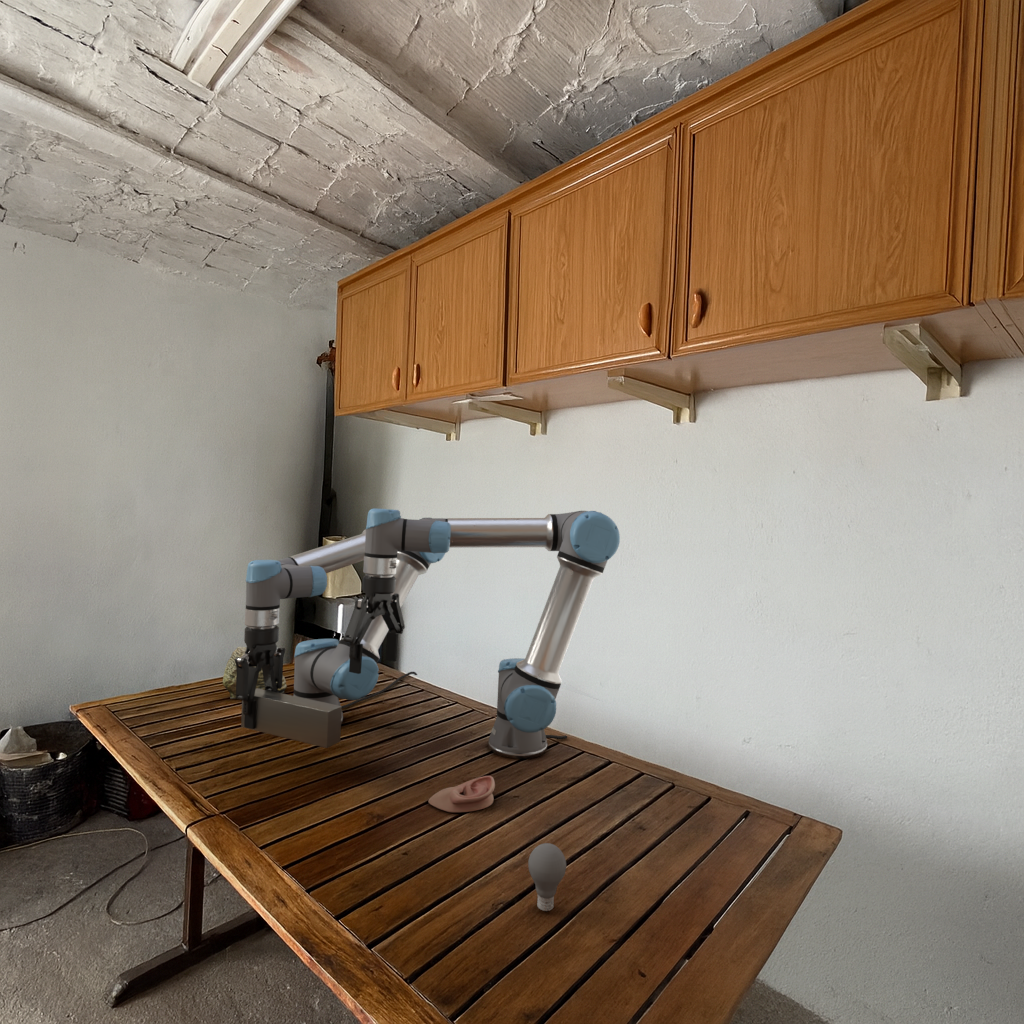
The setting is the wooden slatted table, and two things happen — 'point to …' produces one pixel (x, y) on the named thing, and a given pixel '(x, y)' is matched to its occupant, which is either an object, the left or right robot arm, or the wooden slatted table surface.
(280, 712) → the bar
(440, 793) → the anatomical model
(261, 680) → the fossil
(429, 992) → the wooden slatted table surface
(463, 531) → the right robot arm
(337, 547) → the left robot arm
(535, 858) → the light bulb
